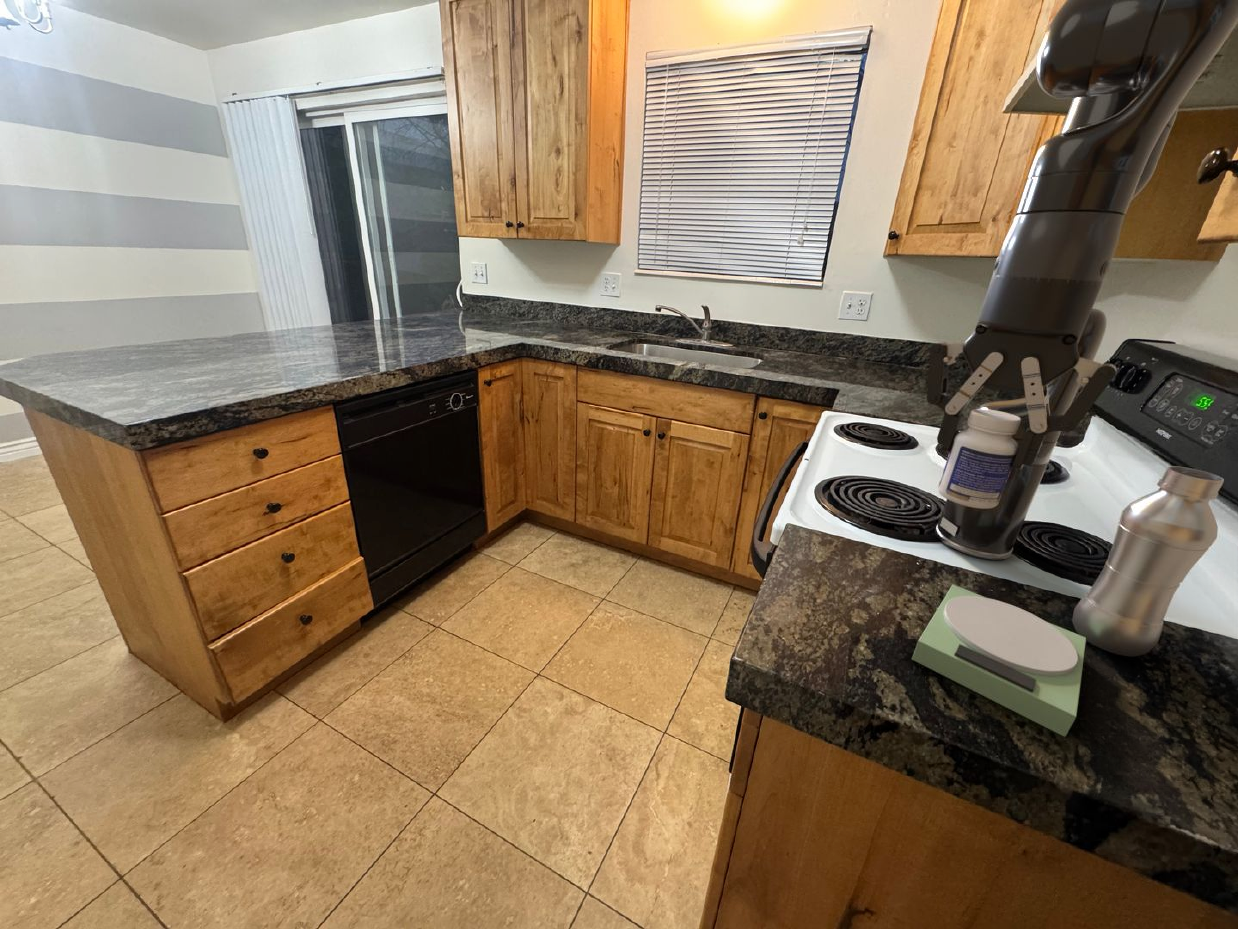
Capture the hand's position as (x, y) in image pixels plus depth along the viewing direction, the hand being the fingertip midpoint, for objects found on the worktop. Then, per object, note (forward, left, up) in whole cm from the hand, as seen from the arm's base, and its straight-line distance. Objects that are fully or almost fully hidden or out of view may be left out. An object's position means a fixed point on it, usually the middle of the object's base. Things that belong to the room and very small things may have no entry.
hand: (980, 457), depth 49 cm
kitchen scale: (+2, +7, -19) cm, 21 cm away
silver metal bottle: (-10, +15, -20) cm, 27 cm away
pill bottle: (0, 0, -5) cm, 5 cm away
